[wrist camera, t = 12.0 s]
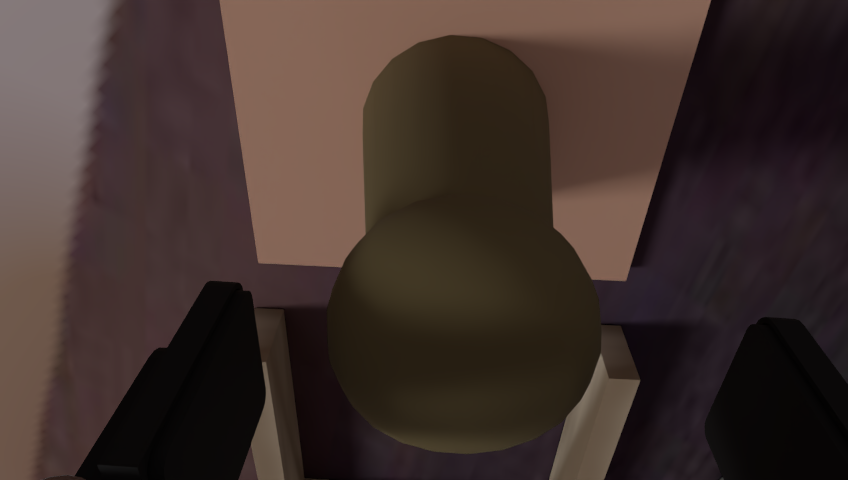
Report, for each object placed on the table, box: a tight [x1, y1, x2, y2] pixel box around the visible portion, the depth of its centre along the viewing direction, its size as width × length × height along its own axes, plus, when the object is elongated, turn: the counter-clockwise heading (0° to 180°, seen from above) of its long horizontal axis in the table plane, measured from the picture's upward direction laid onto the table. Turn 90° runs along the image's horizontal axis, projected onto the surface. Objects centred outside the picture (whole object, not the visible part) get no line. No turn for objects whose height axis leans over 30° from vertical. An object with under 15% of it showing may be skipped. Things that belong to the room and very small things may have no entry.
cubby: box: [251, 308, 640, 480], centre depth 27 cm, size 15×13×3 cm
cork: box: [327, 35, 602, 454], centre depth 14 cm, size 6×6×11 cm
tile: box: [220, 0, 711, 281], centre depth 19 cm, size 14×12×1 cm
